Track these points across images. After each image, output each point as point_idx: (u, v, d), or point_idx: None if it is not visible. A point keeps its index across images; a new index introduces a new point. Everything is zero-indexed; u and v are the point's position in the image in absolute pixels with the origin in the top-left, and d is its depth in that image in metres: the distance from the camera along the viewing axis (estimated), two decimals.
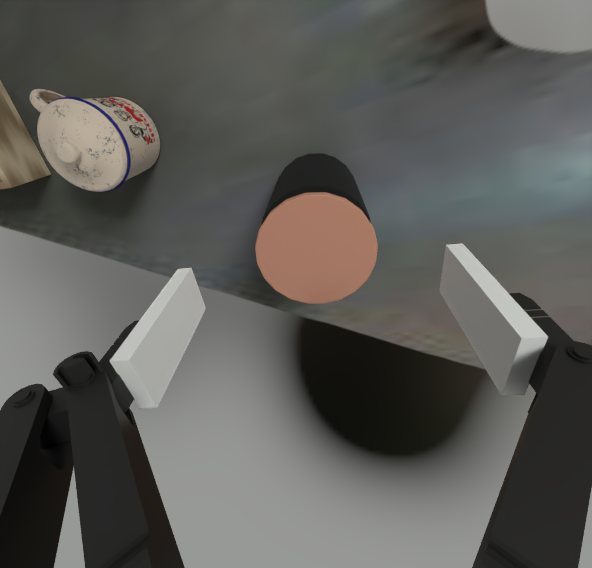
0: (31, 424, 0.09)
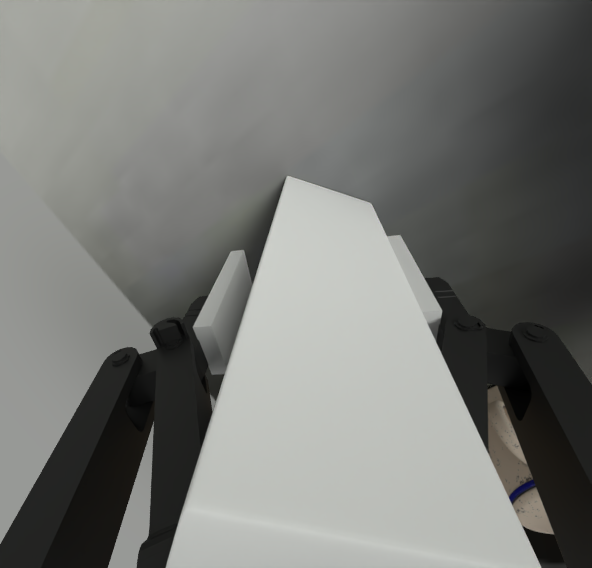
0: (122, 386, 0.10)
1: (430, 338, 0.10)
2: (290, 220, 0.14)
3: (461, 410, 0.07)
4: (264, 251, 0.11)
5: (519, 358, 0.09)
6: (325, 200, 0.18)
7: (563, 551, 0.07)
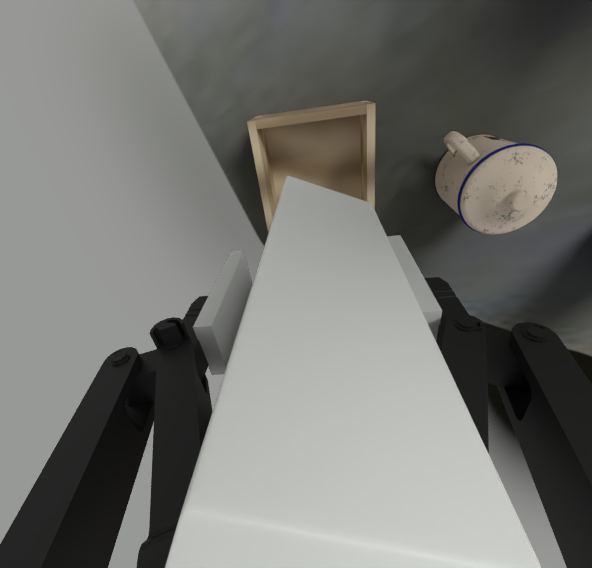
0: (122, 386, 0.10)
1: (430, 338, 0.10)
2: (290, 220, 0.14)
3: (461, 411, 0.07)
4: (264, 251, 0.11)
5: (519, 358, 0.09)
6: (326, 200, 0.18)
7: (563, 551, 0.07)
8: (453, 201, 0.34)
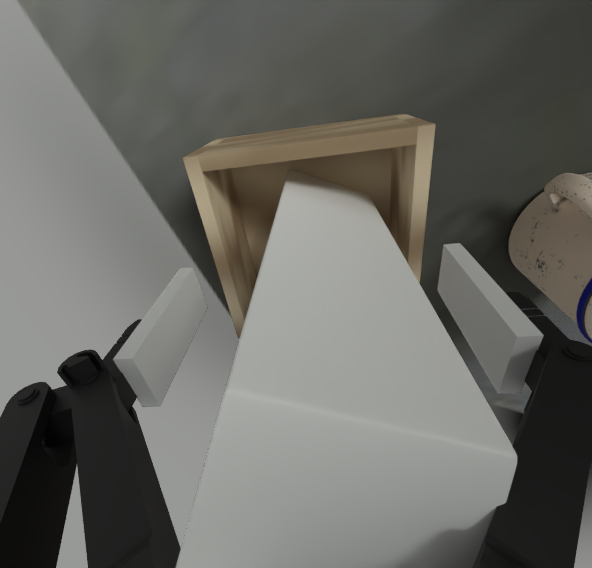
0: (35, 422, 0.09)
1: (423, 296, 0.11)
2: (294, 203, 0.15)
3: (450, 347, 0.09)
4: (273, 225, 0.12)
5: None
6: (326, 189, 0.19)
7: None
8: (559, 293, 0.19)
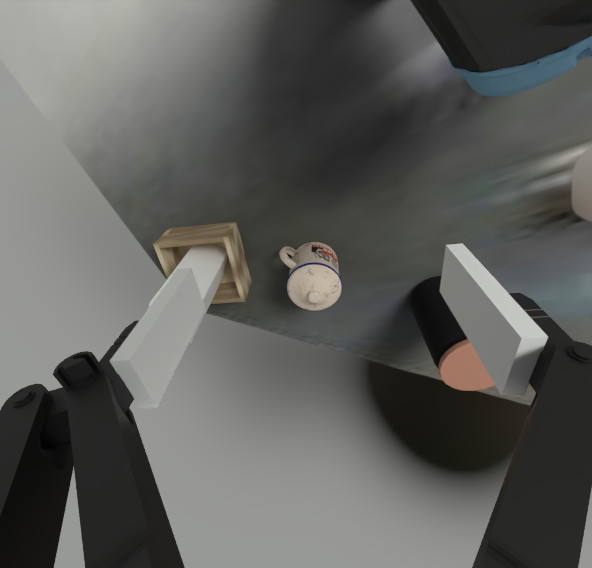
0: (31, 424, 0.09)
1: (206, 289, 0.45)
2: (186, 260, 0.49)
3: None
4: None
5: None
6: (206, 250, 0.53)
7: None
8: None
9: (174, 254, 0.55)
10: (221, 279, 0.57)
